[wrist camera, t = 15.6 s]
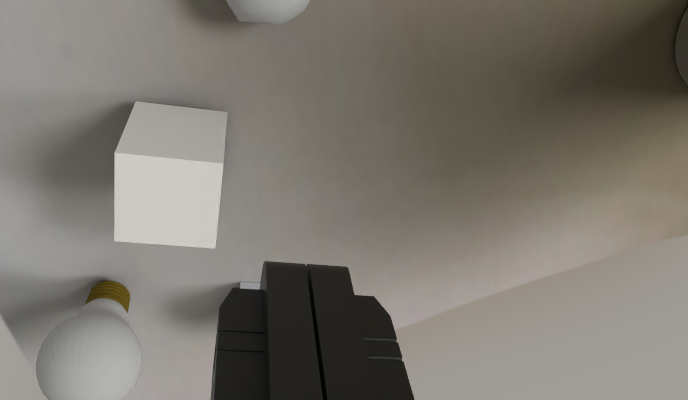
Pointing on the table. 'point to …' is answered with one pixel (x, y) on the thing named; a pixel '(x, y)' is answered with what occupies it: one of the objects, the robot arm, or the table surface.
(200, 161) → the off-white rectangular block
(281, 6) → the tube
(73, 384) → the light bulb
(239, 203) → the table surface
